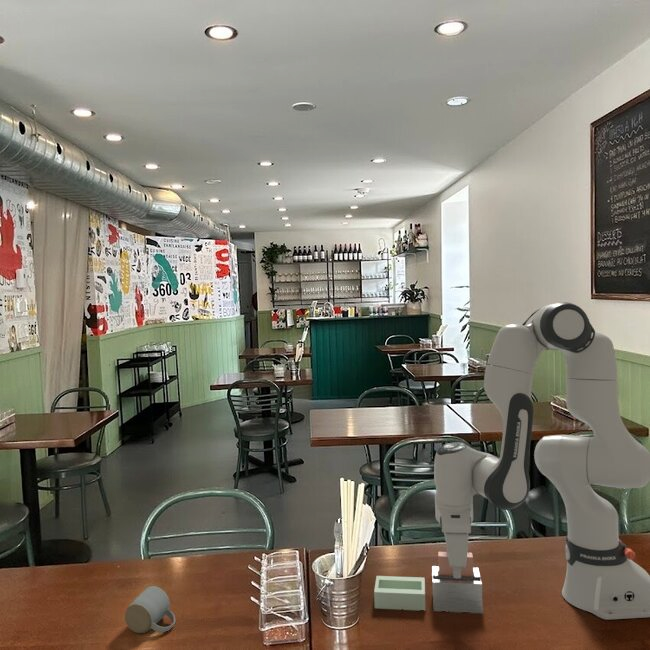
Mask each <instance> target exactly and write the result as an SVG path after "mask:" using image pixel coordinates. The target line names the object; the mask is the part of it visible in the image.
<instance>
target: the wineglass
mask: <svg viewBox="0 0 650 650" xmlns="http://www.w3.org/2000/svg"><path fill="white" fill-rule="evenodd" d="M342 518H343V517H339V518H336V519H335V521H334V527H333V535H334V538H335V540H336V538H337V536H338V535H340V534H342Z"/></svg>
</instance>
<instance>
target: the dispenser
mask: <svg viewBox="0 0 650 650" xmlns="http://www.w3.org/2000/svg"><path fill="white" fill-rule="evenodd" d="M473 573H474V577H463V576H461V578H454V577H453V576H439V565H438V566H436V565H432V566H431V576H432V577H431V578H432V581H431V582H432V602H433V603H432V605H433V612H441V611H446V613H448V611H449V613H462V612H470V613H469V614H483V613H484V612H483V608H484V607H483V582H482V578H481V573H480V570H479V567H473Z"/></svg>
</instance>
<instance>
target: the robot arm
mask: <svg viewBox="0 0 650 650" xmlns="http://www.w3.org/2000/svg"><path fill="white" fill-rule="evenodd" d="M545 350H546V351H547V350H550V351H551V350H554V351H560V352H561V354H563V356H564V359H565V363H566V379H565V380H566V381H565V382H566V388H565V389H566V391H565V392H566V393H565V394H566V397H565V399H566V402H565V403H566V409H567V411H568V412H569V413H570V415H571V416H572V417H574V418H575V419H576V420H578V421H580V422H582V423H584V424H585V425H588V426H589V428H590V429H591V430H592V432H593V436H584V435H583V436H582V435H571V434H552V435H544V436H543V437H542V438H540V439H539V441H538V442H537V443H536V446H535V449H534V452H533V453H534V454H533V456H534V462H535V465H536V467H537V469H538V470H539V472H540V473H541V475H543V476H545V477H546V478H547V479H548V480H549V481H550V482H551V483H552V484H553V486H554V487H555V488H556V489H557V491H558V492H559V494H560V496H561V499H562V501H563V504H564V506H565V512H566V514H565V515H566V521H567V523H566V524H567V535H566V537H565V559H566V561H567V563H566V572H565V573H566V574H565V579H564V582H563V587H562V590H561V595H562V597H563V599H565V601H566V602H567V603H569V604H570V605H572V606H574V608H578V609H580V610H582V611H585V612H589V613H591V614H593V615H595V616H596V617H598V618H600V619H603V620H607V621H608V620H622V619H625V620H626V619H638V618H639V619H641V618H642V619H643V618H650V574H649V573H648V572H647V570H645V569H644V568H643V566H642V567H641V566H640V565H639V564H637V563H636V562H634V560H635V558H636V557H637V556H636V552H634V551H633V549H632V548H630V547H628V546H627V545H626V543H624V542H623V541H622V540H621V539H620V538H619V535H620V534H619V531H620V530H619V514H618V511H617V509H616V508H615V507H614V505H613V504H612V503H611V502H610V501H609V500H607V499H606V498H604V497H602V496H600V495H599V494H598V493H596V492H595V490H594V489H593V487H592V486H591V485H595V486H596V485H597V486H602V487H609V488H616V489H637V488H638V489H639V488H644V487H646V486H647V485H648V483H650V452H649V450H648V448H646V446H644V445H643V444H642V443H640V442H639V441H638V440H637V439H635V438H634V437H633V435H632V434H631V433H630V432H629V430H628V429H627V427H626V425H625V424H624V422H623V420H622V416H621V413H620V408H619V395H618V367H617V365H618V364H617V359H616V358H617V357H616V352H615V348H614V344H613V341H612V340H611V338H610V337H608V336H607V335H605V334H603V333H600V332H596V330H595V329H594V327H593V325H592V324H591V322H590V319H589V317H588V316H587V314H586V312H585V311H584V310H583V309H582V308H581V307H580V306H578V305H576V304H574V303H571V302H566V301H563V302H557V303H551V304H547V305H544V306H543V307H541V308H539V309H536V310H535V311H534V312H533V313H531V315H530V316H529V317H528V318H526V320H525V321H524V322H523V323H522V324H519V323H513V324H512V323H511V324H506V325H504V326H502V327H501V328H500V329H499V330H498V332H497V334H496V336H495V338H494V340H493V344H492V345H491V349H490V352H489V355H488V360H487V363H486V367H485V371H484V378H483V381H484V382H483V389H484V392H485V394H486V396H487V398H488V399H489V400H490V401H491V402H492V404H493V405H494V406H495V408H496V409H497V410H498V412H499V414H500V415H501V418H502V425H503V429H502V437H501V438H502V439H501V446H500V455H499V457H497V456H495V455H493V454H491V453H488V452H483V451H479V450H477V449H474V448H472V447H470V446H468V445H467V444H466V443H464V442H461V441H460V442H459V441H458V442H457V441H455V442H452V441H451V442H449V443H445V444H442V445H441V446H440V447H438V449H437V450H436V453H435V456H434V466H433V469H434V470H433V475H434V476H433V477H434V478H433V481H434V485H435V490H436V492H435V495H434V507H435V509H434V510H435V512H434V513H435V520H436V521H437V522H438V524H439V526H440V529H441V532H442V533H443V535H444V540H445V545H446V552H447V553H448V560H449V564H450V567H453V577H454V578H461V568H465V567H466V563H467V553H469V552H468V550H469V549H468V548H469V534H471V532H472V531H471V530H472V523H473V521H474V501H473V497H474V496H476V495H481V496H482V497H483V498H485V499H487V501H489V502H490V503H491V504H492V505H493V506H494V507H496V508H497V509H498V510H503V511H510V510H514V509H517V508H518V507H520V506H521V505H522V504H523V503H524V502H525V501H526V500H527V498H528V496H529V493H530V491H531V489H530V488H531V480H530V474H529V461H530V453H531V452H530V451H531V442H532V432H533V424H534V405H533V401H532V387H533V386H532V385H533V380H534V374H535V370H536V365H537V364H536V363H537V362H538V358H539V357H540V355H541V354H542V353H543V352H544V351H545Z"/></svg>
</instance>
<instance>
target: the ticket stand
mask: <svg viewBox="0 0 650 650" xmlns="http://www.w3.org/2000/svg"><path fill="white" fill-rule="evenodd" d="M375 577H376V578H375V584H374V590H373V591H374V592H373V596H374V609H381V610H382V609H383V610H400V611H401V610H402V609H403V610H404V611H420V610H424V611H423V612H425V610H426V609H427V608H426V582H425V581H426V579H425V577H421V576H419V577H417V576H416V577H415V576H397V575H396V576H392V575H391V576H389V575H376V576H375Z"/></svg>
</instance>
